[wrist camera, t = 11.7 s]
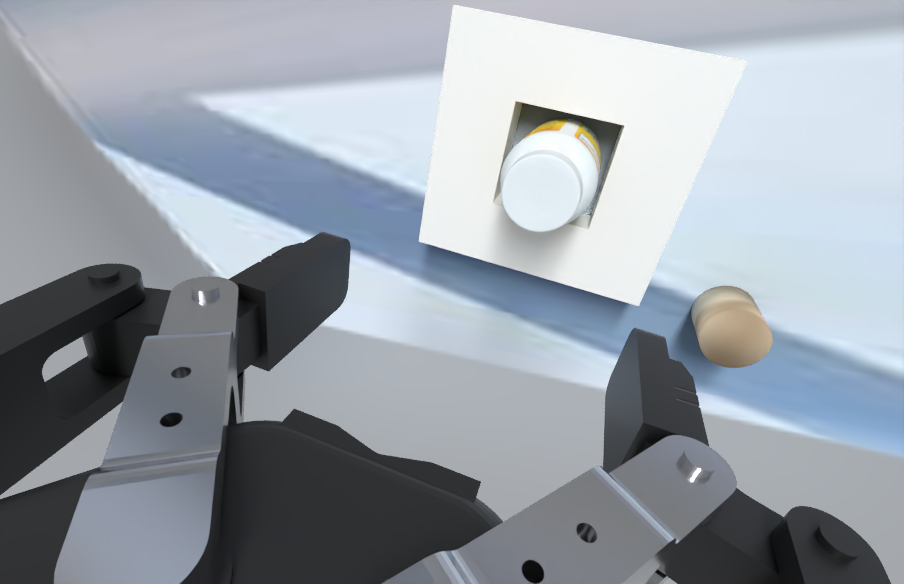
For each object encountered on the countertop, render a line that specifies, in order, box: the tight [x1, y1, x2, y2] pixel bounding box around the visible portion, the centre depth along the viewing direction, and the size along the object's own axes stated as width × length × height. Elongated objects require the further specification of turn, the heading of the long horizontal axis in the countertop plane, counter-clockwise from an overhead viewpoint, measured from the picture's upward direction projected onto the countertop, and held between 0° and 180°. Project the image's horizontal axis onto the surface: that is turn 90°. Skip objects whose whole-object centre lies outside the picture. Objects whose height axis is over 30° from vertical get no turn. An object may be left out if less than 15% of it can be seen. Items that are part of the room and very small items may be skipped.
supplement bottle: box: [500, 118, 601, 232], centre depth 27 cm, size 5×5×10 cm
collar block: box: [419, 5, 748, 306], centre depth 30 cm, size 16×15×3 cm
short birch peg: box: [691, 286, 773, 368], centre depth 31 cm, size 4×4×4 cm
